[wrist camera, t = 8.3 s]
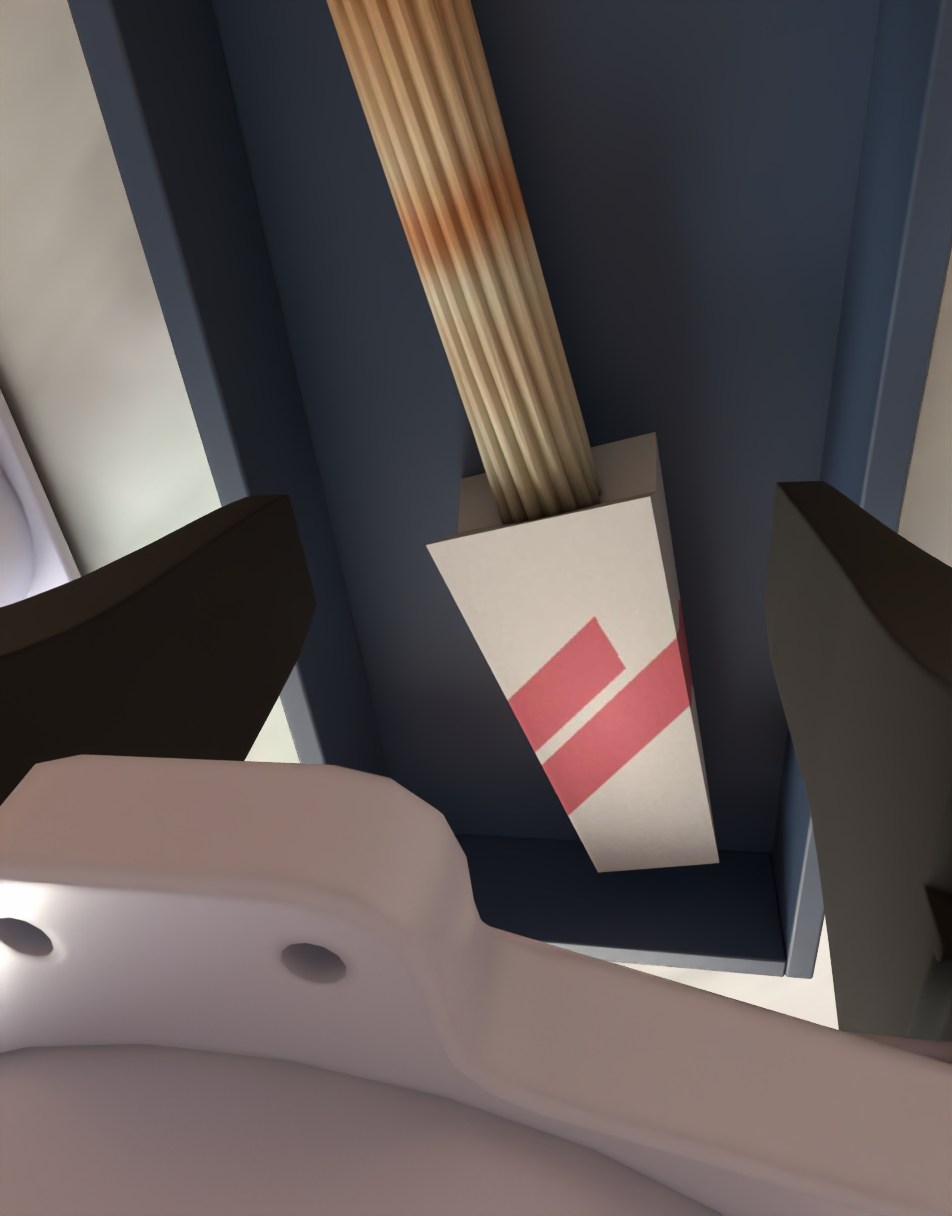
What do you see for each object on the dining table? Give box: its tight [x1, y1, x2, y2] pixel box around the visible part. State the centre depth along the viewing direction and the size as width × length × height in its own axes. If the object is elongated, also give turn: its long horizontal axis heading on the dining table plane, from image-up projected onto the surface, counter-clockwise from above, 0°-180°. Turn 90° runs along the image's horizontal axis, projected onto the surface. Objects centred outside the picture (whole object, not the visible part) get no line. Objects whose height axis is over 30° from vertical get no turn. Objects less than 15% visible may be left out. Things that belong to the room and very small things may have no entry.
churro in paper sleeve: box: [326, 0, 719, 872], centre depth 15 cm, size 4×3×20 cm
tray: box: [67, 0, 952, 979], centre depth 15 cm, size 11×23×4 cm, turn 6°
